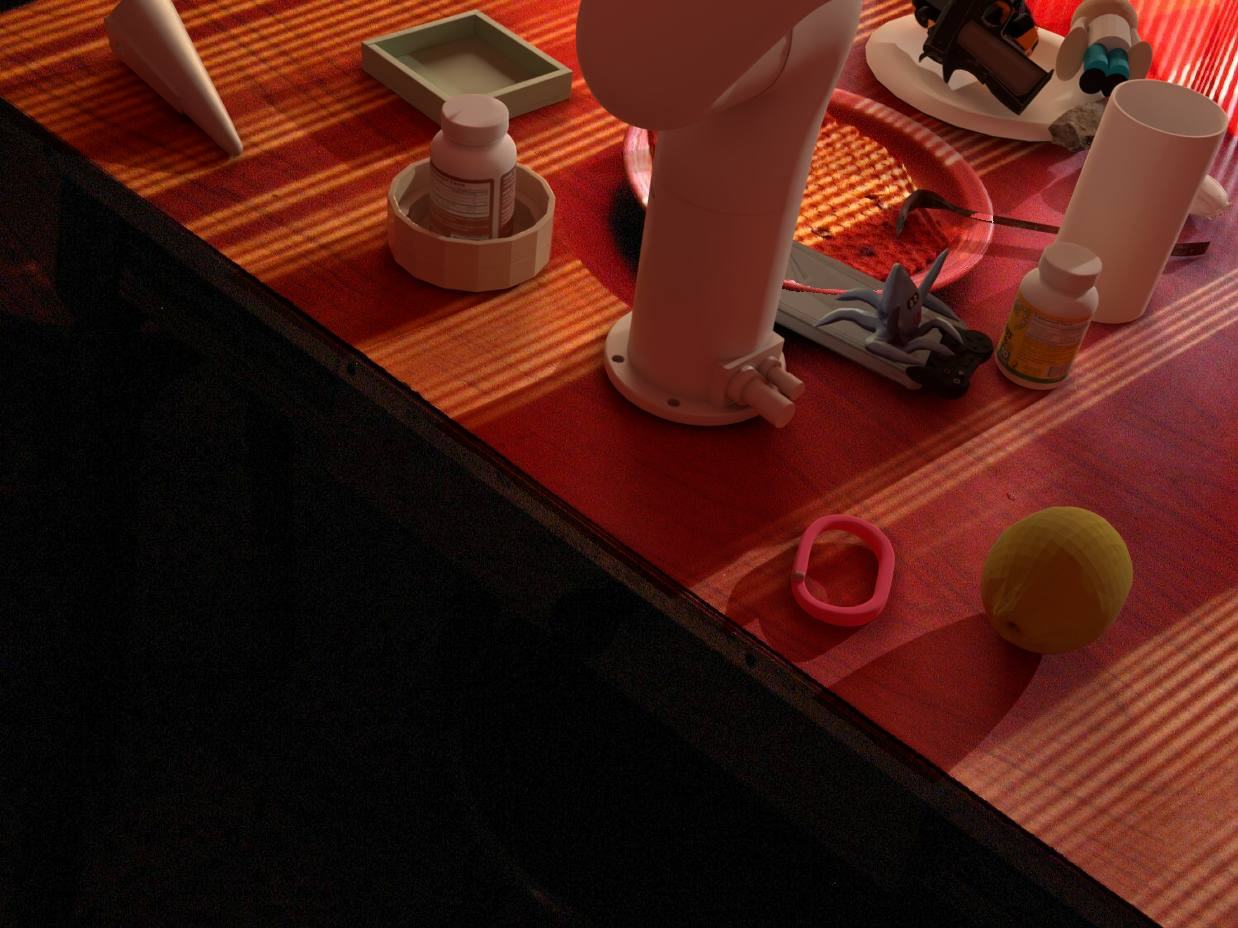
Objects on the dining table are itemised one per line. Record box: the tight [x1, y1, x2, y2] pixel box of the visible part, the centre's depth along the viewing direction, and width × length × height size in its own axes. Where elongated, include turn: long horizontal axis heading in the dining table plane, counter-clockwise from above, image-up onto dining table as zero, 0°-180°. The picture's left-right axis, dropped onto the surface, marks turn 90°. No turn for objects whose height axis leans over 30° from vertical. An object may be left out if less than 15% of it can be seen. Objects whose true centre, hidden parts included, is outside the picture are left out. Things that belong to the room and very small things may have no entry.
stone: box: [1048, 97, 1110, 153], centre depth 122 cm, size 13×5×3 cm, turn 135°
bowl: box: [386, 156, 557, 293], centre depth 102 cm, size 12×12×4 cm
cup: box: [1053, 78, 1230, 325], centre depth 103 cm, size 8×8×16 cm
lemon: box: [979, 506, 1134, 655], centre depth 79 cm, size 11×8×8 cm
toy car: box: [1189, 174, 1233, 221], centre depth 120 cm, size 5×12×4 cm, turn 44°
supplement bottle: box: [994, 242, 1102, 391], centre depth 97 cm, size 5×5×10 cm
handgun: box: [918, 0, 1054, 116], centre depth 127 cm, size 3×19×12 cm
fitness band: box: [790, 514, 896, 628], centre depth 83 cm, size 8×6×2 cm
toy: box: [1055, 0, 1154, 97], centre depth 130 cm, size 8×6×15 cm
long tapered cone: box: [103, 0, 244, 157], centre depth 114 cm, size 6×6×19 cm
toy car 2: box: [910, 0, 1039, 57], centre depth 132 cm, size 12×12×3 cm
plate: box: [864, 13, 1105, 144], centre depth 131 cm, size 25×25×2 cm
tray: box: [360, 8, 574, 127], centre depth 121 cm, size 14×13×3 cm
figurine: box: [813, 247, 995, 401], centre depth 95 cm, size 10×12×8 cm
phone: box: [774, 239, 969, 391], centre depth 102 cm, size 8×16×1 cm, turn 54°
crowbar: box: [895, 188, 1212, 257], centre depth 112 cm, size 26×2×5 cm
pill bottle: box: [429, 94, 518, 241], centre depth 100 cm, size 6×6×11 cm
